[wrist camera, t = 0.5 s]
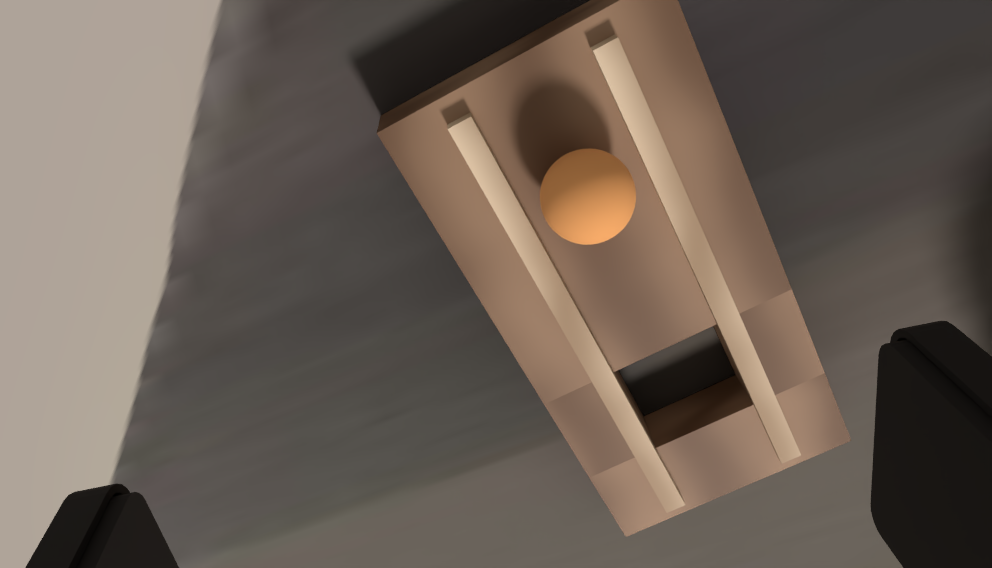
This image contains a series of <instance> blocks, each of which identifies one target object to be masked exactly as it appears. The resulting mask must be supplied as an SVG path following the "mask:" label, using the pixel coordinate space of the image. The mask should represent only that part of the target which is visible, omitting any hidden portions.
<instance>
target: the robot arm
mask: <svg viewBox="0 0 992 568" xmlns="http://www.w3.org/2000/svg"><path fill="white" fill-rule="evenodd" d="M871 512H872V517H873V520H874V523H875V525H876V528H877V530H878V532H879V533H880V535H881V537H882V538H883V540H884V541H885V542H886V544H887V545H888V547H889V548H890V549H891V551H892V552H893V554H894V555H895V556H896V558H897V559H898V561H899V562H900V563H901V565H902V566H903V568H992V357H991V356H990V355H989V354H988V353H987V352H985V351H984V350H983V349H982V348H981V347H979V346H978V345H977V344H976V343H974V342H973V341H972V340H971V339H970V338H968V337H967V336H966V335H965V334H964V333H962V332H961V331H960V330H959V329H957V328H956V327H955V326H954V325H952V324H951V323H949V322H947V321H937V322H932V323H927V324H922V325H917V326H912V327H907V328H902V329H898V330H896V331H895V332H894V333H893V335H892V337H891V341H890V343H887V344H884V345H882V346H881V348H880V351H879V359H878V377H877V396H876V415H875V433H874V452H873V471H872V489H871ZM26 568H179V567H178V565H177V563H176V561H175V559H174V557H173V555H172V553H171V551H170V549H169V547H168V545H167V543H166V541H165V539H164V537H163V535H162V533H161V531H160V529H159V527H158V525H157V523H156V521H155V519H154V517H153V515H152V513H151V511H150V509H149V507H148V505H147V503H146V501H145V499H144V497H143V496H142V495H141V494H140V493H137V492H133V493H130V492H129V490H128V489H127V488H126V487H125V486H123V485H122V484H113V485H108V486H103V487H98V488H93V489H87V490H83V491H77V492H74V493H72V494H70V495H68V496H67V498H66V499H65V500H64V502H63V503H62V505H61V507H60V509H59V510H58V512H57V514H56V516H55V517H54V519H53V521H52V522H51V524H50V526H49V528H48V529H47V531H46V533H45V534H44V537H43V538H42V540H41V541H40V543H39V545H38V547H37V549H36V550H35V552H34V554H33V555H32V557H31V559H30V561H29V563H28V564H27V566H26Z"/></svg>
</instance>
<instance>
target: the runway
mask: <svg viewBox="0 0 992 568" xmlns="http://www.w3.org/2000/svg"><path fill="white" fill-rule="evenodd" d="M377 134H378V136H379V138H380V139H381V141H382V142H383V144H384V146H385V147H386V149H387V150H388V152H389V154H390V155H391V157H392V159H393V160H394V162H395V163H396V165H397V167H398V168H399V170H400V172H401V173H402V175H403V176H404V178H405V180H406V181H407V183H408V184H409V186H410V188H411V189H412V191H413V193H414V194H415V196H416V197H417V199H418V201H419V202H420V204H421V206H422V207H423V209H424V210H425V212H426V214H427V215H428V217H429V219H430V220H431V222H432V223H433V225H434V227H435V228H436V230H437V231H438V233H439V235H440V236H441V238H442V240H443V241H444V243H445V244H446V246H447V248H448V249H449V251H450V253H451V254H452V256H453V257H454V259H455V261H456V262H457V264H458V266H459V267H460V269H461V270H462V272H463V274H464V275H465V277H466V278H467V280H468V282H469V283H470V285H471V287H472V288H473V290H474V291H475V293H476V295H477V296H478V298H479V300H480V301H481V303H482V304H483V306H484V308H485V309H486V311H487V313H488V314H489V316H490V317H491V319H492V321H493V322H494V324H495V325H496V327H497V329H498V330H499V332H500V334H501V335H502V337H503V338H504V340H505V342H506V343H507V345H508V347H509V348H510V350H511V351H512V353H513V355H514V356H515V358H516V359H517V361H518V363H519V364H520V366H521V368H522V369H523V371H524V372H525V374H526V376H527V377H528V379H529V381H530V382H531V384H532V385H533V387H534V389H535V390H536V392H537V394H538V395H539V397H540V398H541V400H542V402H543V403H544V405H545V406H546V408H547V410H548V411H549V413H550V415H551V416H552V418H553V419H554V421H555V423H556V424H557V426H558V428H559V429H560V431H561V432H562V434H563V436H564V437H565V439H566V441H567V442H568V444H569V445H570V447H571V449H572V450H573V452H574V453H575V455H576V457H577V458H578V460H579V462H580V463H581V465H582V466H583V468H584V470H585V471H586V473H587V475H588V476H589V478H590V479H591V481H592V483H593V484H594V486H595V487H596V489H597V491H598V492H599V494H600V496H601V497H602V499H603V500H604V502H605V504H606V505H607V507H608V509H609V510H610V512H611V513H612V515H613V517H614V518H615V520H616V522H617V523H618V525H619V526H620V528H621V530H622V531H623V533H624V534H625V536H626V537H627V536H629V535H631V534H634V533H636V532H638V531H641V530H643V529H645V528H648V527H650V526H652V525H655V524H657V523H659V522H662V521H664V520H667V519H669V518H671V517H674V516H676V515H678V514H681V513H683V512H685V511H688V510H690V509H692V508H695V507H697V506H699V505H702V504H704V503H706V502H709V501H711V500H713V499H716V498H718V497H720V496H723V495H725V494H727V493H730V492H732V491H734V490H737V489H739V488H741V487H744V486H746V485H748V484H751V483H753V482H755V481H758V480H760V479H762V478H765V477H767V476H770V475H772V474H774V473H777V472H779V471H781V470H784V469H786V468H788V467H791V466H793V465H795V464H798V463H800V462H802V461H805V460H807V459H809V458H812V457H814V456H816V455H819V454H821V453H823V452H826V451H828V450H830V449H833V448H835V447H837V446H840V445H842V444H844V443H847V442H849V441H851V439H850V436H849V433H848V431H847V428H846V426H845V423H844V421H843V418H842V416H841V413H840V411H839V408H838V406H837V403H836V400H835V398H834V395H833V393H832V390H831V388H830V385H829V383H828V380H827V378H826V375H825V373H824V370H823V367H822V365H821V362H820V360H819V357H818V355H817V352H816V350H815V347H814V345H813V342H812V340H811V337H810V334H809V332H808V329H807V327H806V324H805V322H804V319H803V317H802V314H801V312H800V309H799V307H798V304H797V301H796V299H795V296H794V294H793V291H792V289H791V286H790V284H789V281H788V279H787V276H786V274H785V271H784V268H783V266H782V263H781V261H780V258H779V256H778V253H777V251H776V248H775V246H774V243H773V241H772V238H771V235H770V233H769V230H768V228H767V225H766V223H765V220H764V218H763V215H762V213H761V210H760V208H759V205H758V203H757V200H756V197H755V195H754V192H753V190H752V187H751V185H750V182H749V180H748V177H747V175H746V172H745V170H744V167H743V164H742V162H741V159H740V157H739V154H738V152H737V149H736V147H735V144H734V142H733V139H732V137H731V134H730V131H729V129H728V126H727V124H726V121H725V119H724V116H723V114H722V111H721V109H720V106H719V104H718V101H717V98H716V96H715V93H714V91H713V88H712V86H711V83H710V81H709V78H708V76H707V73H706V71H705V68H704V65H703V63H702V60H701V58H700V55H699V53H698V50H697V48H696V45H695V43H694V40H693V38H692V35H691V32H690V30H689V27H688V25H687V22H686V20H685V17H684V15H683V12H682V10H681V7H680V5H679V2H678V0H590V1H588V2H586V3H584V4H582V5H581V6H579V7H577V8H575V9H573V10H572V11H570V12H568V13H566V14H564V15H563V16H561V17H559V18H557V19H555V20H553V21H552V22H550V23H548V24H546V25H544V26H543V27H541V28H539V29H537V30H535V31H533V32H532V33H530V34H528V35H526V36H524V37H523V38H521V39H519V40H517V41H515V42H513V43H512V44H510V45H508V46H506V47H504V48H503V49H501V50H499V51H497V52H495V53H493V54H492V55H490V56H488V57H486V58H484V59H483V60H481V61H479V62H477V63H475V64H474V65H472V66H470V67H468V68H466V69H464V70H463V71H461V72H459V73H457V74H455V75H454V76H452V77H450V78H448V79H446V80H444V81H443V82H441V83H439V84H437V85H435V86H434V87H432V88H430V89H428V90H426V91H424V92H423V93H421V94H419V95H417V96H415V97H414V98H412V99H410V100H408V101H406V102H404V103H403V104H401V105H399V106H397V107H395V108H394V109H392V110H390V111H388V112H386V113H385V114H383V115H381V117H380V122H379V126H378V130H377ZM589 148H590V149H598V150H602V151H605V152H608V153H610V154H612V155H613V156H615V157H616V158H618V159H619V160H620V161H621V162H622V163H623V164H624V165H625V166H626V167H627V169H628V170H629V172H630V174H631V176H632V178H633V181H634V184H635V188H636V203H635V208H634V211H633V214H632V216H631V218H630V220H629V222H628V223H627V225H626V226H625V227H624V229H623V230H622V231H621V232H619V233H618V234H617V235H616V236H614V237H613V238H611V239H609V240H607V241H604V242H601V243H598V244H591V245H583V244H577V243H573V242H570V241H568V240H566V239H564V238H562V237H561V236H559V235H558V234H557V233H556V232H554V231H553V230H552V228H551V227H550V226H549V225H548V223H547V221H546V220H545V218H544V215H543V213H542V210H541V204H540V189H541V185H542V181H543V179H544V176H545V174H546V173H547V171H548V170H549V168H550V167H551V166H552V165H553V164H554V163H555V162H556V161H557V160H558V159H559V158H560V157H562V156H564V155H565V154H567V153H569V152H572V151H575V150H579V149H589ZM712 326H713V327H714V329H715V331H716V333H717V335H718V337H719V340H720V342H721V344H722V346H723V348H724V350H725V353H726V355H727V357H728V359H729V361H730V363H731V366H732V368H733V370H734V372H735V374H736V375H735V376H732V377H730V378H728V379H726V380H723V381H721V382H719V383H717V384H715V385H712V386H710V387H708V388H706V389H704V390H701V391H699V392H697V393H695V394H693V395H690V396H688V397H686V398H684V399H681V400H679V401H677V402H675V403H673V404H670V405H668V406H666V407H664V408H662V409H659V410H657V411H655V412H653V413H650V414H648V415H646V416H644V417H643V415H642V413H641V411H640V409H639V407H638V406H637V404H636V402H635V400H634V398H633V396H632V395H631V393H630V391H629V389H628V387H627V385H626V384H625V382H624V380H623V378H622V376H621V374H620V373H619V371H618V370H619V369H621V368H624V367H626V366H628V365H630V364H632V363H634V362H636V361H639V360H641V359H643V358H645V357H647V356H649V355H652V354H654V353H656V352H658V351H660V350H662V349H664V348H667V347H669V346H671V345H673V344H675V343H677V342H679V341H682V340H684V339H686V338H688V337H690V336H692V335H695V334H697V333H699V332H701V331H703V330H705V329H707V328H710V327H712Z"/></svg>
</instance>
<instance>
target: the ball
mask: <svg viewBox="0 0 992 568" xmlns="http://www.w3.org/2000/svg"><path fill="white" fill-rule="evenodd" d="M635 203H636V188H635V184H634V181H633V178H632V176H631V174H630V172H629V170H628V169H627V167H626V166H625V165H624V164H623V163H622V162H621V161H620V160H619V159H618V158H616V157H615V156H613V155H612V154H610V153H608V152H605V151H602V150H598V149H590V148H589V149H579V150H575V151H572V152H569V153H567V154H565V155H564V156H562V157H560V158H559V159H558V160H557V161H556V162H555V163H554V164H553V165H552V166H551V167H550V168H549V170H548V171H547V173H546V174H545V176H544V179H543V181H542V185H541V189H540V204H541V210H542V213H543V215H544V218H545V220H546V221H547V223H548V225H549V226H550V227H551V228H552V230H553V231H554V232H556V233H557V234H558V235H559V236H561V237H562V238H564V239H566V240H568V241H570V242H573V243H577V244H583V245H591V244H598V243H601V242H604V241H607V240H609V239H611V238H613V237H614V236H616V235H617V234H618V233H619V232H621V231H622V230H623V229H624V227H625V226H626V225H627V223H628V222H629V220H630V218H631V216H632V214H633V211H634V208H635Z"/></svg>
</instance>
